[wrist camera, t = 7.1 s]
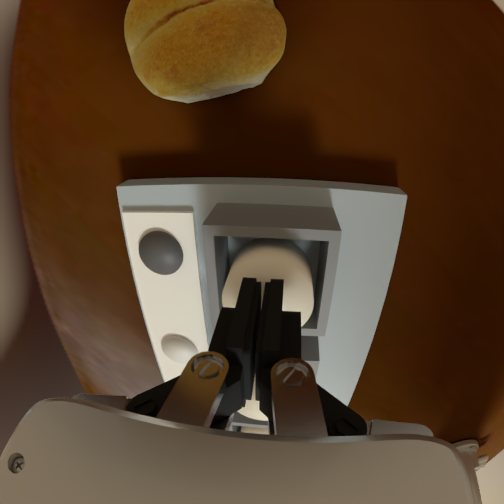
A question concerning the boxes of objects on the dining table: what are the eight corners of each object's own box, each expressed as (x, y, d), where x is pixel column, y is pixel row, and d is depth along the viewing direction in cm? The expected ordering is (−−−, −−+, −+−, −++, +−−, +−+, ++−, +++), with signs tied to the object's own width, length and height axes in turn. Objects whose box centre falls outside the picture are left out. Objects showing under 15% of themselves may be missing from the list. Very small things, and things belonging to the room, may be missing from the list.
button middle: (300, 357, 18) (300, 388, 16) (294, 393, 20) (293, 422, 17) (236, 352, 18) (229, 383, 16) (238, 389, 20) (233, 417, 18)
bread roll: (259, -51, 10) (250, -84, 6) (298, 81, 14) (301, 73, 10) (126, -7, 12) (90, -23, 8) (154, 117, 16) (119, 124, 12)
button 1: (314, 239, 14) (318, 266, 12) (307, 307, 16) (308, 339, 14) (230, 235, 14) (219, 260, 12) (233, 302, 16) (224, 333, 14)
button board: (398, 187, 15) (429, 216, 11) (334, 422, 27) (335, 459, 23) (128, 179, 17) (87, 204, 13) (182, 409, 28) (170, 443, 24)
